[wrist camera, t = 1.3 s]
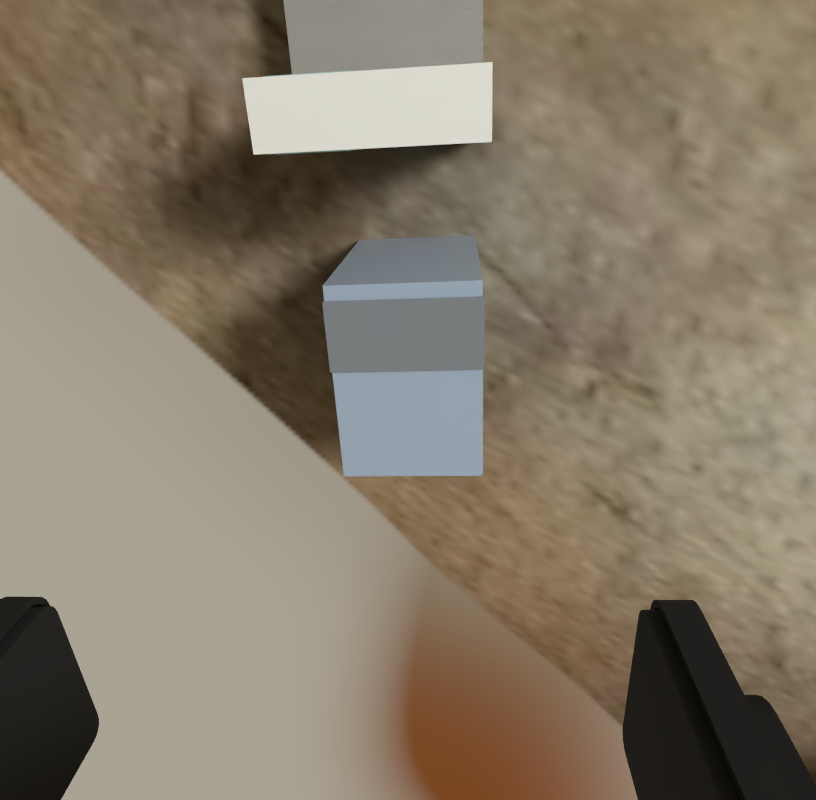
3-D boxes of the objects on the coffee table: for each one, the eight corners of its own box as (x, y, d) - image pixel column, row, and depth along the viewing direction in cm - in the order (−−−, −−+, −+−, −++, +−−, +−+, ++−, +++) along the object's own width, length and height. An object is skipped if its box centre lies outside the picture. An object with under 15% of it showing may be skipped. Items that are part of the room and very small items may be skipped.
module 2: (477, 385, 29) (484, 476, 21) (370, 387, 29) (342, 477, 22) (476, 235, 26) (484, 280, 18) (358, 240, 26) (320, 286, 19)
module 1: (482, 138, 23) (491, 143, 17) (300, 148, 23) (253, 156, 18) (483, 75, 22) (492, 60, 16) (293, 87, 22) (242, 76, 17)
